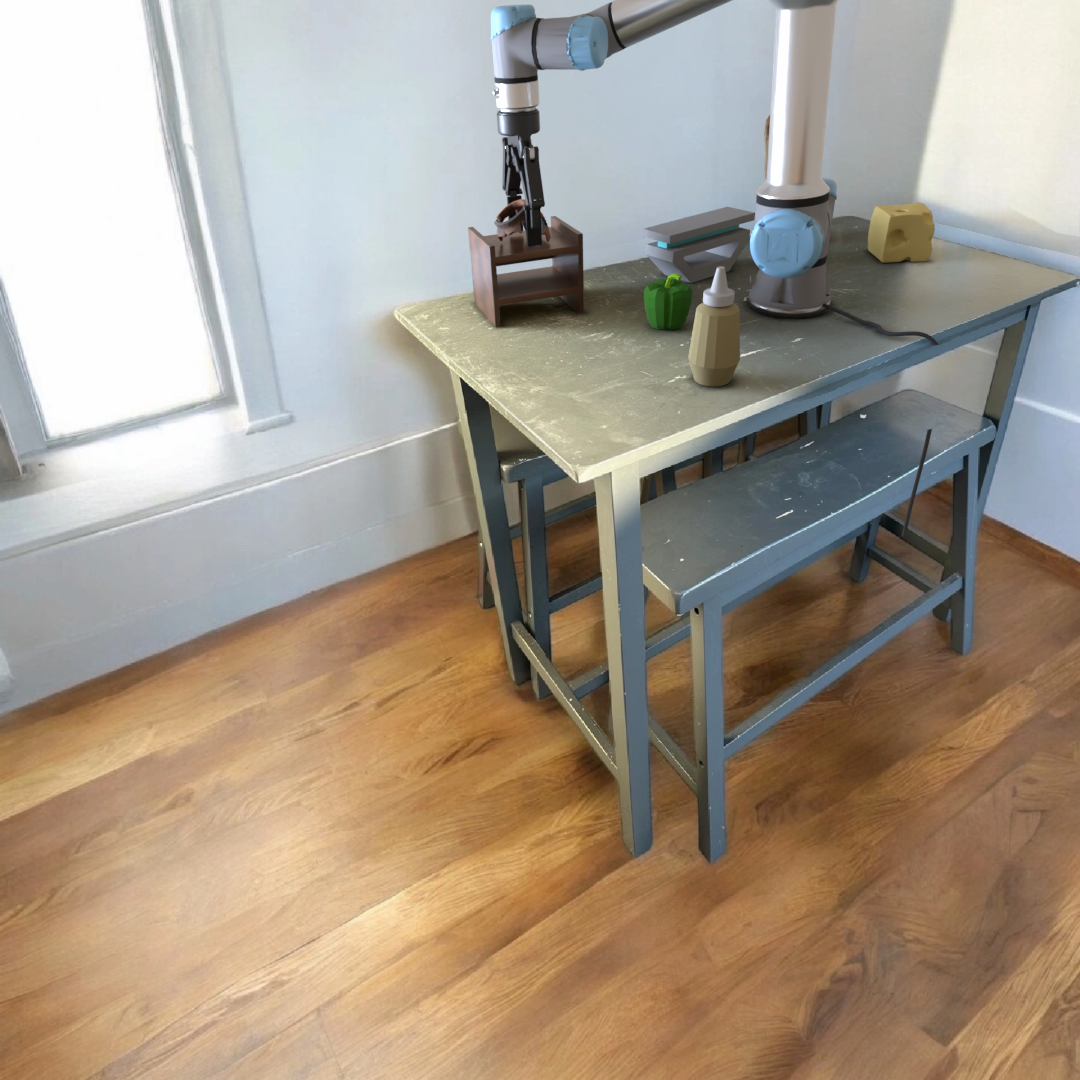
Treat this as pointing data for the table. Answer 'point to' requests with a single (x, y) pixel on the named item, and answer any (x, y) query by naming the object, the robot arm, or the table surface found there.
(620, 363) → the table surface
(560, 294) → the shelf
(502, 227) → the pottery mug
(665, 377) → the table surface
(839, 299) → the table surface
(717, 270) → the squeeze bottle
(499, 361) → the table surface
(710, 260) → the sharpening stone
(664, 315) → the bell pepper
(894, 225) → the cheese
